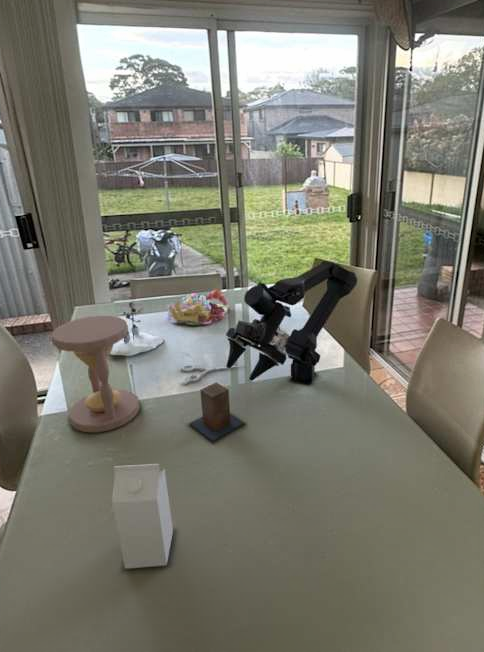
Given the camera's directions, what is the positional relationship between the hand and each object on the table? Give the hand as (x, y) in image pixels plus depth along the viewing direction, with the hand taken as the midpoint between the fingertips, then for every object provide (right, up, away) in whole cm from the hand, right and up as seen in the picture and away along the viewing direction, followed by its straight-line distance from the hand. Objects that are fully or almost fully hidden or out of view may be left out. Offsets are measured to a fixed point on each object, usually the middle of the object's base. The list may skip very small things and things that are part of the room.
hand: (238, 373), depth 114 cm
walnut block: (-6, -13, -1) cm, 14 cm away
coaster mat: (-6, -13, -1) cm, 14 cm away
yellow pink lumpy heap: (-24, +14, +70) cm, 75 cm away
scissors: (-11, -3, +26) cm, 28 cm away
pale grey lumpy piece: (+7, +6, +47) cm, 48 cm away
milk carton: (-12, -27, -35) cm, 46 cm away
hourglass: (-36, -11, +4) cm, 38 cm away
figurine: (-41, +3, +42) cm, 59 cm away
